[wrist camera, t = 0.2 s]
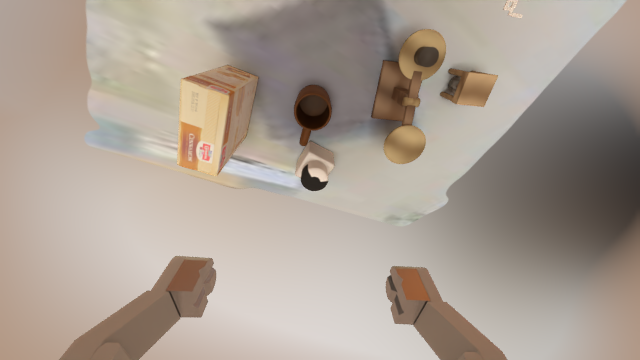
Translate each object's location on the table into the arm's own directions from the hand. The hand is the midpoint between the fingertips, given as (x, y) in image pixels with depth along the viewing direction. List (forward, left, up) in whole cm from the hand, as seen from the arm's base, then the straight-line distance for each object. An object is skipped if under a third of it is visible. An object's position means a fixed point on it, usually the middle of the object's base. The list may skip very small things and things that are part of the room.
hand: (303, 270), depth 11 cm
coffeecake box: (+5, -17, -48) cm, 51 cm away
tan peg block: (-4, +32, -48) cm, 57 cm away
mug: (+5, 0, -48) cm, 48 cm away
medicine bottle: (+17, +2, -48) cm, 51 cm away
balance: (-1, +19, -48) cm, 51 cm away
